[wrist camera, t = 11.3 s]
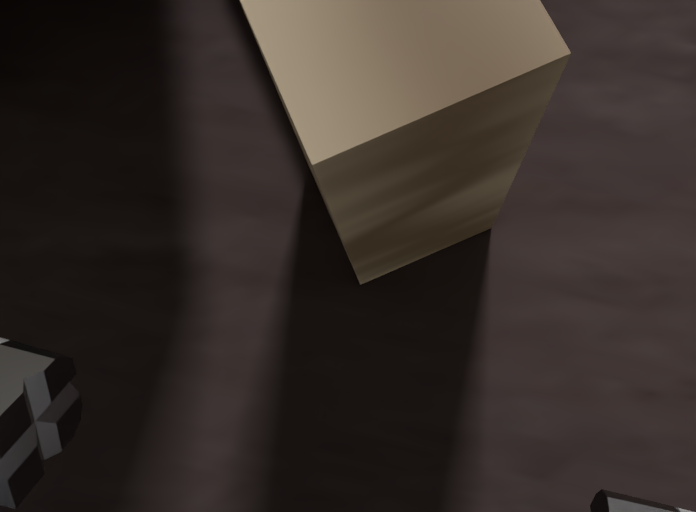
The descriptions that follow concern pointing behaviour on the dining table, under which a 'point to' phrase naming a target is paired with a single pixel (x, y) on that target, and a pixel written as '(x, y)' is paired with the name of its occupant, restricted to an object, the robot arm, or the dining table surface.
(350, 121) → the wooden handled saw
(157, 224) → the dining table surface
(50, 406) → the robot arm
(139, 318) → the dining table surface
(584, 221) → the dining table surface
